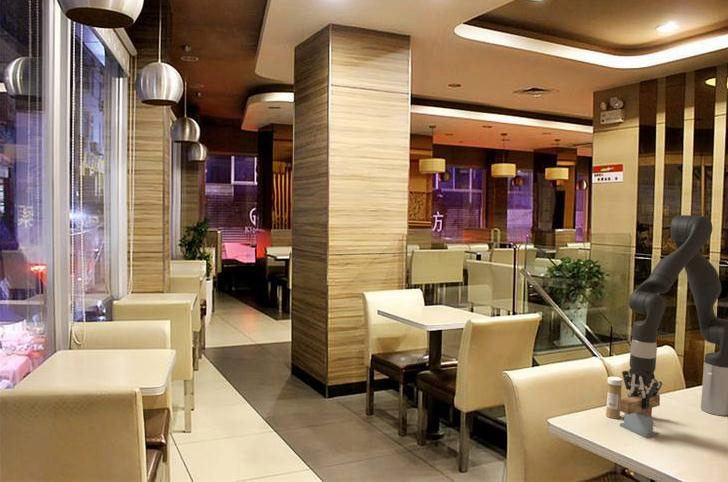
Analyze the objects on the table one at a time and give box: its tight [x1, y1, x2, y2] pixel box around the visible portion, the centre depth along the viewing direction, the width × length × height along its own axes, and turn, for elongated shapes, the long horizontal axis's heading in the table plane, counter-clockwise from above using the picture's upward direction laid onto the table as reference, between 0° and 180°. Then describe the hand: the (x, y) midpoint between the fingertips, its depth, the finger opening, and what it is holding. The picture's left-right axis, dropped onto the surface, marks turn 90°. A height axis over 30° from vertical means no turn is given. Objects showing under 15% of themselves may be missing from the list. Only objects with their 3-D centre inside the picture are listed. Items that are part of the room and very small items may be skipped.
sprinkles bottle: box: [605, 376, 623, 420], centre depth 197 cm, size 5×5×13 cm
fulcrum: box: [619, 411, 658, 439], centre depth 186 cm, size 5×10×6 cm, turn 24°
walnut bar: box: [620, 393, 661, 414], centre depth 186 cm, size 14×3×4 cm, turn 114°
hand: (639, 406), depth 186 cm, fingers closed on walnut bar, 3 cm apart
